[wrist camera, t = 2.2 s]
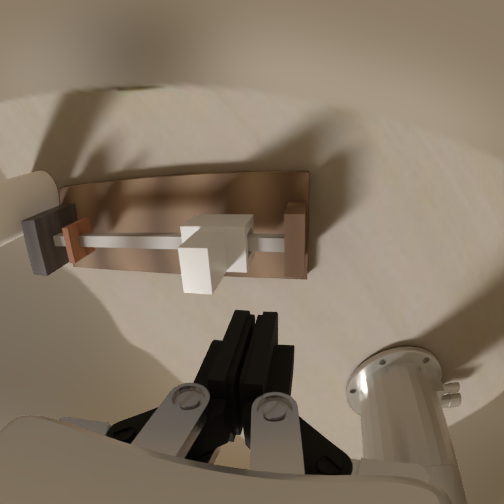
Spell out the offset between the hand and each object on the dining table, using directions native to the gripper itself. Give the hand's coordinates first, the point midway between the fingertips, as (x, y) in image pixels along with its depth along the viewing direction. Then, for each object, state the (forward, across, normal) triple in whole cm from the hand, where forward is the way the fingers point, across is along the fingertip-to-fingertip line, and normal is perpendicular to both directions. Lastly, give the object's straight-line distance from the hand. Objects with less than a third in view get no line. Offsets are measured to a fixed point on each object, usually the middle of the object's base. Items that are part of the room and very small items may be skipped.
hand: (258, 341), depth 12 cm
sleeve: (+15, +5, +1) cm, 16 cm away
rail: (+18, +12, +1) cm, 22 cm away
